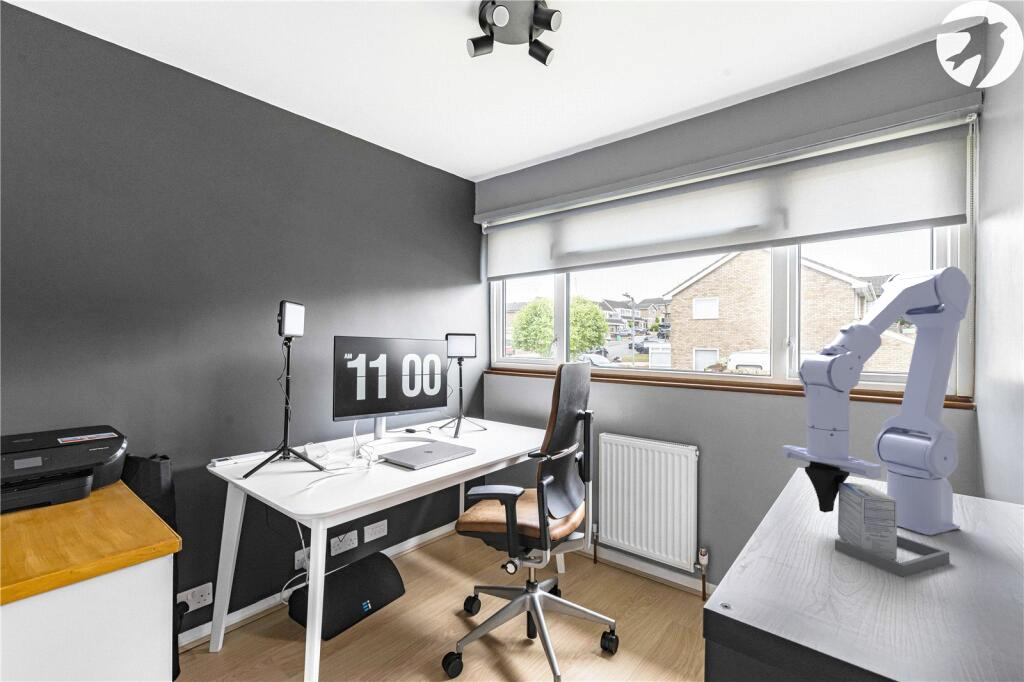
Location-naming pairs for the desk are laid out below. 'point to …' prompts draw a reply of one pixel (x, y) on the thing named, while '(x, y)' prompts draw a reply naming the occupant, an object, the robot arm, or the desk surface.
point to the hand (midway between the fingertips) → (826, 511)
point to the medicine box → (868, 519)
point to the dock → (928, 561)
